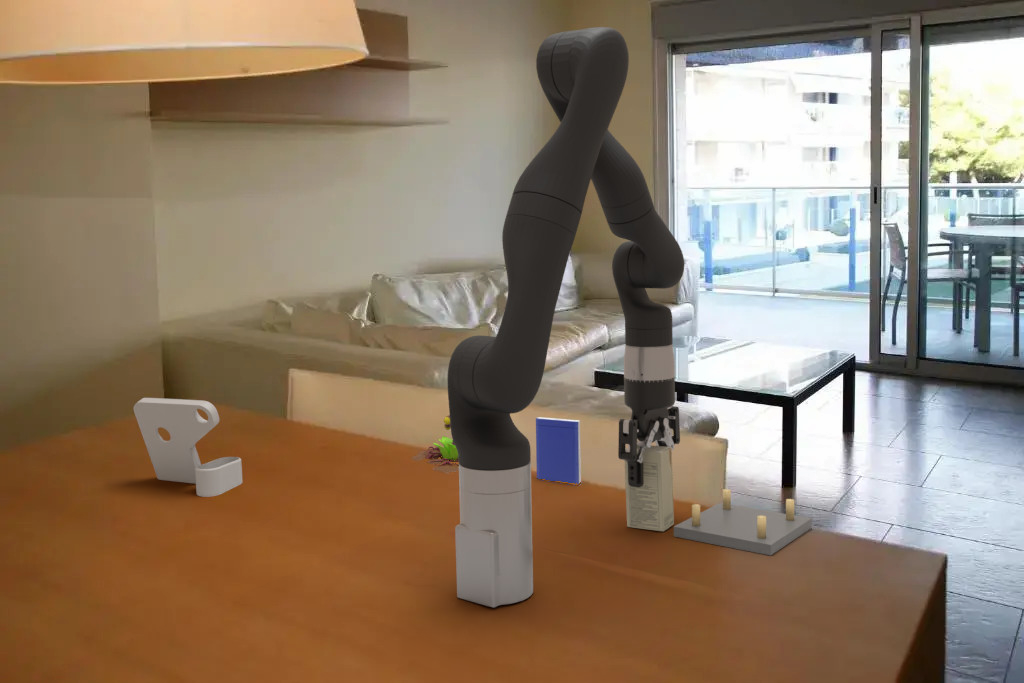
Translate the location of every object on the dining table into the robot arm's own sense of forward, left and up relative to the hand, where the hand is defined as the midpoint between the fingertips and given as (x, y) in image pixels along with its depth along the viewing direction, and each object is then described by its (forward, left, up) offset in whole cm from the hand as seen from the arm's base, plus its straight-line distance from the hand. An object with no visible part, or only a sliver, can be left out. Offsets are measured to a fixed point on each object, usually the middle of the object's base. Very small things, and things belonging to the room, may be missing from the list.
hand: (650, 480), depth 147 cm
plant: (+11, +49, -8) cm, 51 cm away
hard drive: (+10, +24, -7) cm, 27 cm away
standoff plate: (+5, -13, -7) cm, 15 cm away
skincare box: (0, 0, -7) cm, 7 cm away
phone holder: (-30, +76, -7) cm, 81 cm away
